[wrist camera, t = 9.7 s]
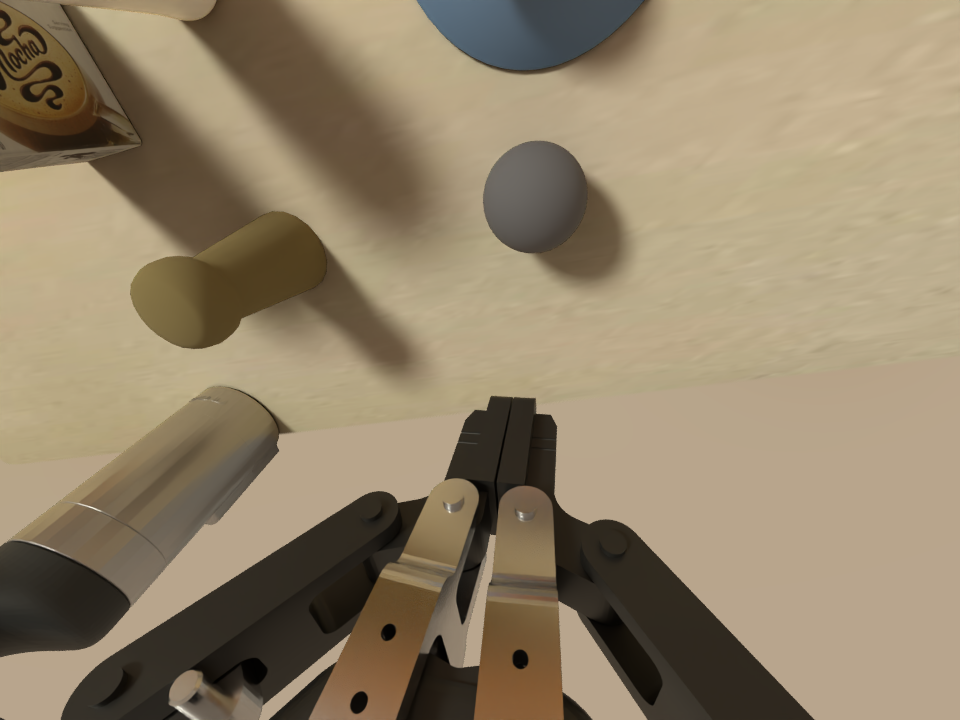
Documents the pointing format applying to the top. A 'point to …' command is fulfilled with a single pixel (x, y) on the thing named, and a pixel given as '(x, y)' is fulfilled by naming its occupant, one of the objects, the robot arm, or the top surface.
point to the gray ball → (535, 197)
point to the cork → (228, 280)
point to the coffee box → (53, 93)
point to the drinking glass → (148, 6)
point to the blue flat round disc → (527, 28)
